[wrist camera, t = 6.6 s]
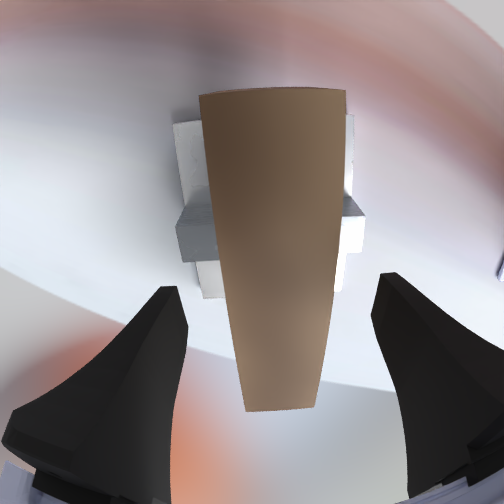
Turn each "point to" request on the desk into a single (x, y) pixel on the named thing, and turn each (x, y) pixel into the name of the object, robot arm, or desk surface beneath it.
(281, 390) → the walnut rod
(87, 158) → the desk surface
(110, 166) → the desk surface
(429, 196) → the desk surface
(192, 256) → the balance stand
